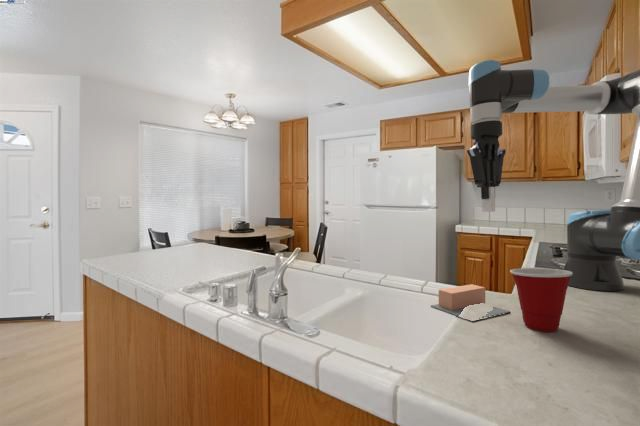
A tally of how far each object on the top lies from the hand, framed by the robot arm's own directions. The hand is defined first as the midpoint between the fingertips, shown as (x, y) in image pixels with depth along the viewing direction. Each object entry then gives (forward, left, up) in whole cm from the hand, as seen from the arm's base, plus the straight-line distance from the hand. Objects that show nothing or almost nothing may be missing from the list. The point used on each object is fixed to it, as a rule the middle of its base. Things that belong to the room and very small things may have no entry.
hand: (488, 211), depth 87 cm
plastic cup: (+8, +18, -24) cm, 31 cm away
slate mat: (+12, +4, -24) cm, 27 cm away
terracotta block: (+5, +1, -21) cm, 22 cm away
